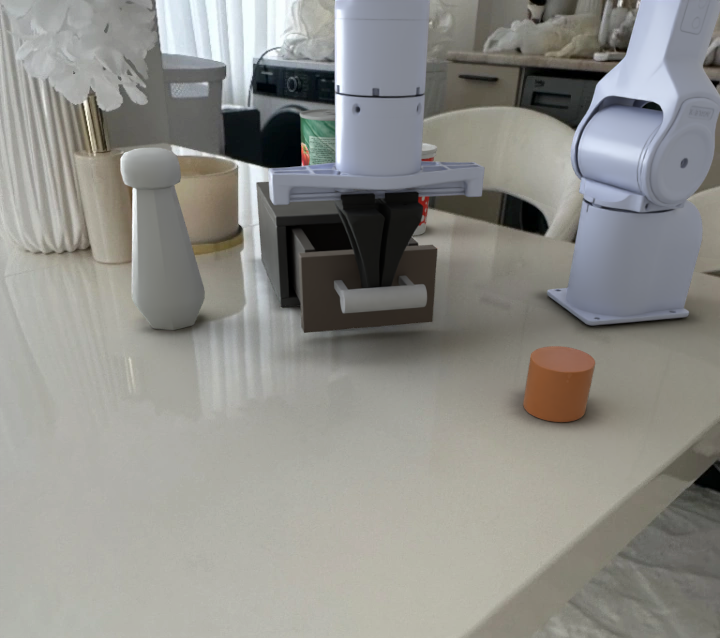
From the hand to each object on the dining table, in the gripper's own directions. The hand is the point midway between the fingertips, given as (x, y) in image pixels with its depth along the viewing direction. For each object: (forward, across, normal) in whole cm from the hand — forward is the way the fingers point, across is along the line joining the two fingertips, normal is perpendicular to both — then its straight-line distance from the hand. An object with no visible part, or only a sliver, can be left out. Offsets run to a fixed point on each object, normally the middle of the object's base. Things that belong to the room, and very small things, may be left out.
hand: (374, 301), depth 53 cm
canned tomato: (+4, -6, -44) cm, 44 cm away
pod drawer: (+3, 0, -6) cm, 6 cm away
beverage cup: (+4, -12, -32) cm, 34 cm away
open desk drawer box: (+4, 0, -17) cm, 17 cm away
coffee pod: (+4, -9, +12) cm, 16 cm away
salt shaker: (+4, +15, -9) cm, 18 cm away
